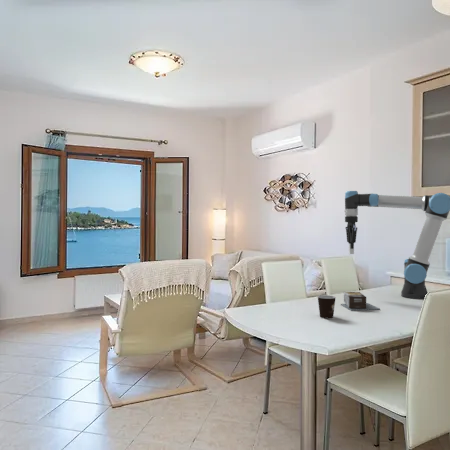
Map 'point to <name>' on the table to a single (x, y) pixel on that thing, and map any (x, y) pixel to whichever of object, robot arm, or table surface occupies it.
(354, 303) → the coffee box
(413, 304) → the table surface
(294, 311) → the table surface
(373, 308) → the mat
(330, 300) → the coffee mug
